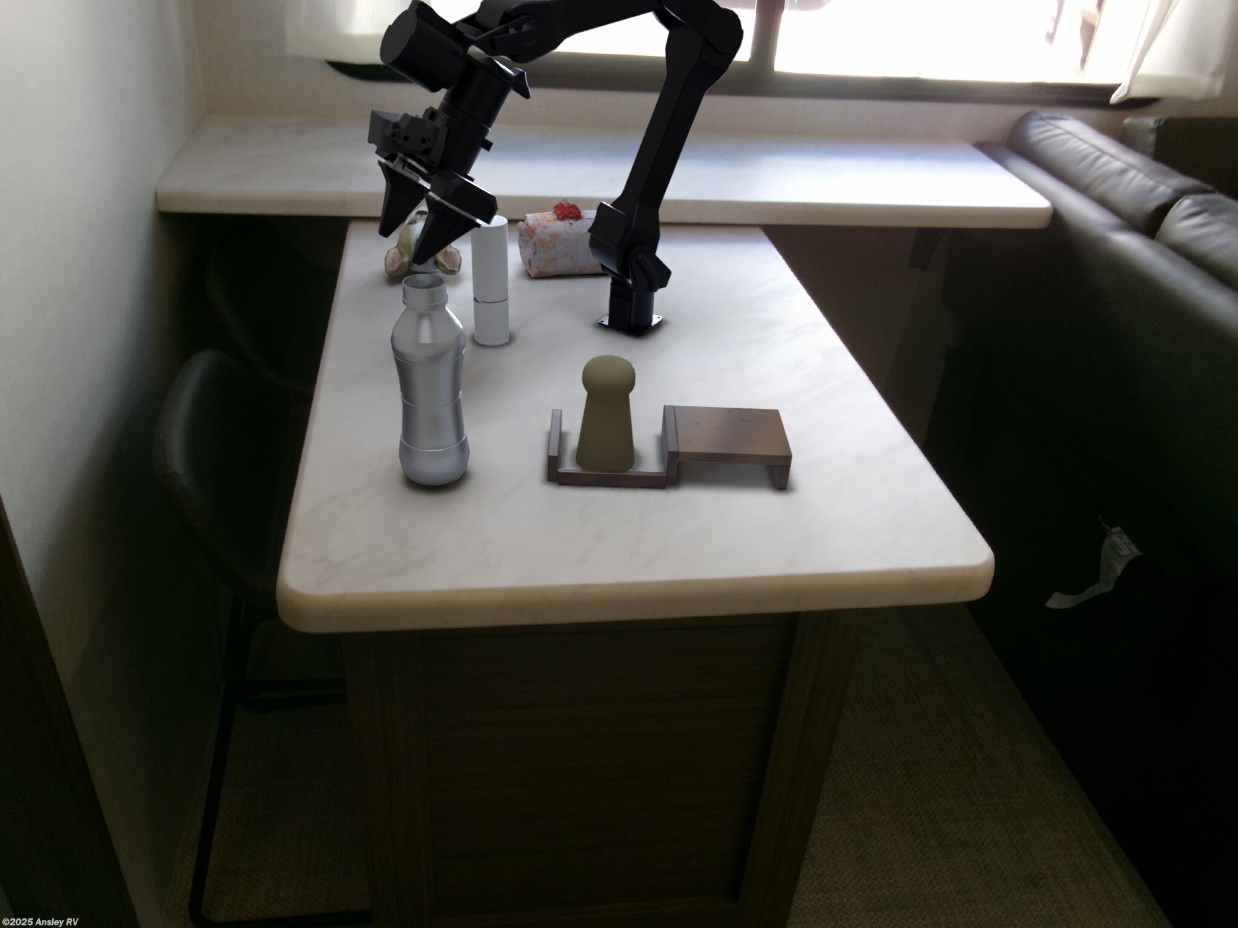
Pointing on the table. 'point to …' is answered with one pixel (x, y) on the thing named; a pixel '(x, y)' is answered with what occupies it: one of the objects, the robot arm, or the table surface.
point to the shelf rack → (692, 446)
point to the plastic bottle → (430, 383)
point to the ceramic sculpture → (403, 251)
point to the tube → (490, 281)
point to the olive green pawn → (607, 415)
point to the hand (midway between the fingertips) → (398, 249)
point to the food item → (557, 242)
